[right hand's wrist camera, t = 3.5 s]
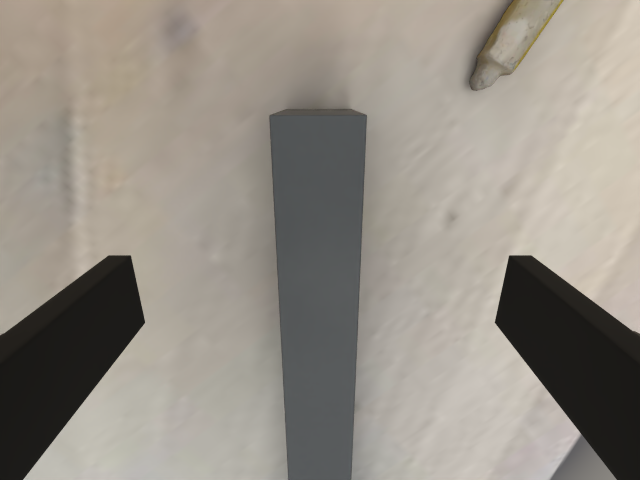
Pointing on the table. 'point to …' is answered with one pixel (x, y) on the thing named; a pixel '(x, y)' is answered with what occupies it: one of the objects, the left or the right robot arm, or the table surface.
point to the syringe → (512, 40)
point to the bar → (318, 281)
